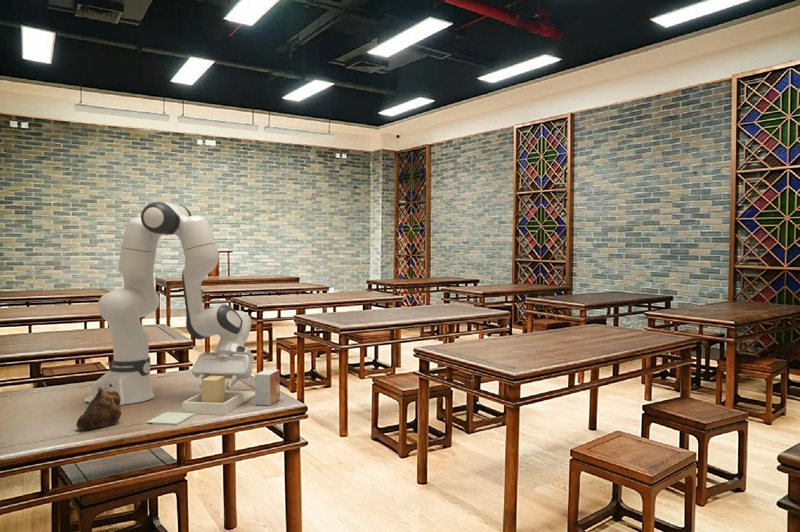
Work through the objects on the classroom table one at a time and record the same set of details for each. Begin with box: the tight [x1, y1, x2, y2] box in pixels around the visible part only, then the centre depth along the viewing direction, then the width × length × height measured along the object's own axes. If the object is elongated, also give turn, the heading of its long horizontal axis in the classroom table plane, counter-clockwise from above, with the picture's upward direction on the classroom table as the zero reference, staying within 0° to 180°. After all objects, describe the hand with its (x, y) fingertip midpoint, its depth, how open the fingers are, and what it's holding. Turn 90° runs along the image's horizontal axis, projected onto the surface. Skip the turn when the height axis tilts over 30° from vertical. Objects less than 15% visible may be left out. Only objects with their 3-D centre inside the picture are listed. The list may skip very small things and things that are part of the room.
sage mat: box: [146, 411, 196, 426], centre depth 167 cm, size 10×10×1 cm
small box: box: [254, 368, 281, 406], centre depth 185 cm, size 8×6×10 cm
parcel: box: [201, 376, 226, 403], centre depth 179 cm, size 5×6×10 cm
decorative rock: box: [75, 389, 122, 431], centre depth 161 cm, size 12×6×11 cm, turn 137°
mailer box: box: [182, 389, 255, 416], centre depth 185 cm, size 14×26×4 cm, turn 170°
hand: (214, 388), depth 179 cm, fingers open, 8 cm apart
